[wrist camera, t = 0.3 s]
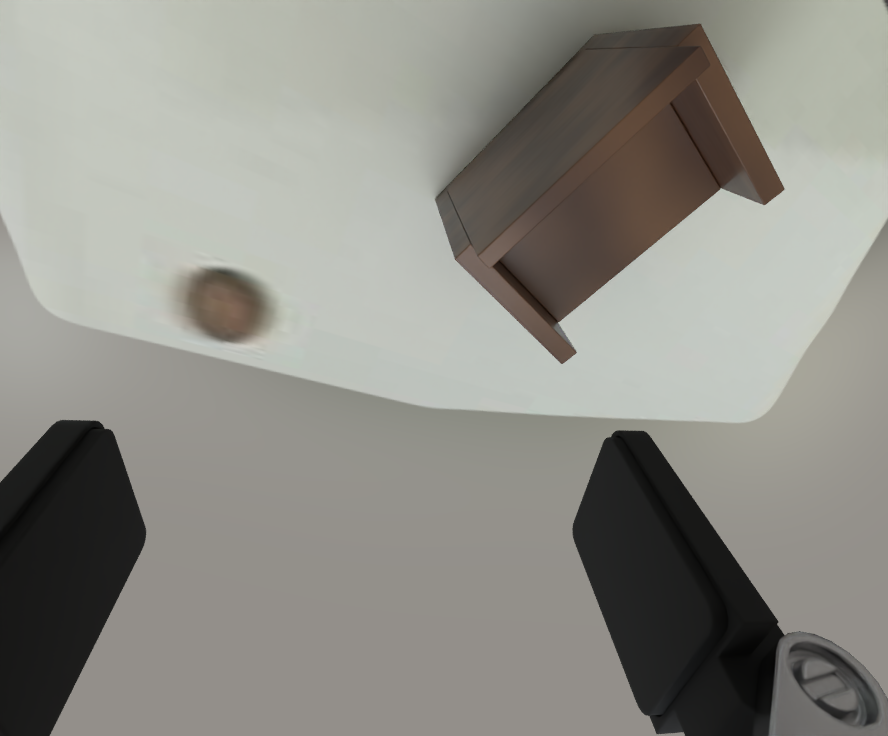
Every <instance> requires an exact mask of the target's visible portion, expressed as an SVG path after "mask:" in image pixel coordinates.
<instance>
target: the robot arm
mask: <svg viewBox="0 0 888 736" xmlns="http://www.w3.org/2000/svg"><path fill="white" fill-rule="evenodd" d="M145 538H146V528H145V525H144V522H143V519H142V516H141V513H140V510H139V507H138V504H137V501H136V498H135V495H134V492H133V489H132V486H131V483H130V480H129V477H128V474H127V471H126V468H125V465H124V462H123V459H122V456H121V454H120V451H119V448H118V445H117V442H116V439H115V436H114V434H113V432H112V431H111V430H109V429H104V427H103V425H102V424H101V423H100V422H99V421H80V420H79V421H77V420H61V421H58V422H56V423H55V424H53V425H52V426H51V427H50V428H49V429H48V431H47V432H46V433H45V434H44V435H43V436H42V437H41V438H40V439H39V440H38V442H37V443H36V444H35V445H34V446H33V447H32V448H31V449H30V450H29V452H28V453H27V454H26V455H25V456H24V457H23V458H22V459H21V460H20V462H19V463H18V464H17V465H16V466H15V467H14V468H13V469H12V470H11V471H10V472H9V474H8V475H7V476H6V477H5V478H4V479H3V480H2V481H1V482H0V736H50V734H51V731H52V730H53V728H54V726H55V724H56V721H57V720H58V718H59V715H60V714H61V712H62V709H63V708H64V706H65V704H66V702H67V699H68V697H69V695H70V693H71V691H72V689H73V687H74V685H75V683H76V681H77V679H78V677H79V675H80V673H81V671H82V669H83V667H84V665H85V663H86V661H87V659H88V657H89V655H90V653H91V651H92V649H93V647H94V645H95V643H96V641H97V639H98V637H99V635H100V633H101V631H102V629H103V627H104V625H105V623H106V621H107V619H108V617H109V615H110V613H111V611H112V609H113V607H114V605H115V603H116V601H117V599H118V597H119V595H120V593H121V591H122V589H123V587H124V585H125V583H126V581H127V579H128V577H129V575H130V573H131V571H132V569H133V567H134V564H135V563H136V561H137V559H138V557H139V555H140V553H141V551H142V548H143V546H144V543H145ZM573 538H574V542H575V544H576V547H577V549H578V552H579V555H580V557H581V560H582V562H583V565H584V568H585V570H586V573H587V575H588V578H589V581H590V583H591V586H592V588H593V591H594V594H595V596H596V599H597V601H598V604H599V607H600V609H601V611H602V614H603V617H604V619H605V622H606V625H607V627H608V630H609V632H610V635H611V638H612V640H613V643H614V645H615V648H616V651H617V653H618V656H619V658H620V661H621V664H622V666H623V669H624V671H625V674H626V676H627V679H628V682H629V684H630V687H631V689H632V692H633V694H634V697H635V700H636V702H637V704H638V707H639V708H640V710H641V711H642V713H644V714H645V715H648V716H650V718H651V721H652V723H653V726H654V728H655V731H656V733H657V734H665V733H677V732H684V734H685V736H888V699H887V697H886V696H885V693H884V692H883V690H882V688H881V687H880V685H879V683H878V682H877V681H876V679H875V678H874V677H873V676H872V675H871V674H870V672H869V671H868V670H867V669H866V668H865V667H864V666H863V665H862V664H861V663H860V662H859V661H858V660H857V659H855V658H854V657H853V656H852V655H851V654H850V653H848V652H847V651H846V650H844V649H842V648H841V647H839V646H837V645H836V644H835V643H833V642H832V641H830V640H827V639H825V638H823V637H820V636H818V635H815V634H811V633H806V632H800V631H799V632H792V633H788V634H786V635H784V634H783V633H782V631H781V630H780V628H779V627H778V625H777V623H778V620H777V619H776V618H775V616H774V615H773V613H772V612H771V610H770V609H769V607H768V606H767V604H766V603H765V602H764V600H763V599H762V597H761V596H760V594H759V593H758V592H757V590H756V589H755V587H754V586H753V584H752V583H751V581H750V580H749V578H748V577H747V576H746V574H745V573H744V571H743V570H742V568H741V567H740V566H739V564H738V563H737V561H736V560H735V558H734V557H733V555H732V554H731V552H730V551H729V550H728V548H727V547H726V545H725V544H724V542H723V541H722V539H721V538H720V537H719V535H718V534H717V532H716V531H715V530H714V528H713V526H712V525H711V524H710V522H709V521H708V519H707V518H706V517H705V515H704V514H703V512H702V511H701V509H700V508H699V506H698V505H697V503H696V502H695V500H694V499H693V498H692V496H691V495H690V493H689V492H688V490H687V489H686V488H685V486H684V485H683V483H682V482H681V480H680V479H679V477H678V476H677V474H676V473H675V472H674V470H673V469H672V467H671V466H670V464H669V463H668V462H667V460H666V459H665V457H664V456H663V454H662V453H661V451H660V450H659V448H658V447H657V446H656V444H655V443H654V441H653V440H652V438H651V437H650V436H649V435H648V434H647V433H646V432H644V431H615V432H614V433H613V434H612V436H611V437H609V438H606V439H605V440H604V442H603V445H602V448H601V450H600V453H599V456H598V458H597V461H596V464H595V467H594V469H593V472H592V474H591V477H590V480H589V483H588V485H587V488H586V491H585V493H584V496H583V499H582V501H581V504H580V507H579V510H578V512H577V515H576V518H575V520H574V523H573Z"/></svg>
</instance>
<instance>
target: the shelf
mask: <svg viewBox="0 0 888 736" xmlns="http://www.w3.org/2000/svg"><path fill="white" fill-rule="evenodd" d="M720 188H722V189H725V190H727V191H730V192H732V193H735V194H737V195H740V196H742V197H745V198H747V199H750V200H752V201H755V202H758V203H760V204H763V205H766V204H767V203H768V202H769V201H771V200H772V199H773V198H774V197H776V196H777V195H778V194H780V193H781V192H782V191H783V190H784V187H783V185H782V183H781V181H780V179H779V177H778V175H777V173H776V171H775V169H774V167H773V165H772V163H771V161H770V159H769V157H768V155H767V153H766V151H765V149H764V148H763V146H762V144H761V142H760V140H759V138H758V136H757V134H756V132H755V130H754V128H753V126H752V124H751V122H750V120H749V118H748V116H747V114H746V112H745V110H744V108H743V106H742V104H741V102H740V100H739V98H738V96H737V94H736V93H735V91H734V89H733V87H732V85H731V83H730V81H729V79H728V77H727V75H726V73H725V71H724V69H723V67H722V65H721V63H720V61H719V59H718V57H717V55H716V53H715V51H714V49H713V47H712V45H711V43H710V41H709V39H708V38H707V36H706V34H705V32H704V30H703V28H702V26H701V24H692V25H683V26H673V27H664V28H654V29H645V30H635V31H626V32H616V33H607V34H596V35H594V36H593V37H592V38H591V39H590V40H589V41H588V42H587V43H586V44H585V45H584V46H583V47H582V48H581V49H580V50H579V51H578V52H577V53H576V54H575V55H574V56H573V57H572V58H571V59H570V60H569V61H568V62H567V63H566V65H565V66H564V67H563V68H562V69H561V70H560V71H559V72H558V73H557V74H556V75H555V76H554V77H553V78H552V79H551V80H550V81H549V82H548V83H547V84H546V85H545V86H544V87H543V88H542V89H541V90H540V91H539V92H538V93H537V94H536V95H535V97H534V98H533V99H532V100H531V101H530V102H529V103H528V104H527V105H526V106H525V107H524V108H523V109H522V110H521V111H520V112H519V113H518V114H517V115H516V116H515V117H514V118H513V119H512V120H511V121H510V122H509V123H508V124H507V125H506V126H505V127H504V129H503V130H502V131H501V132H500V133H499V134H498V135H497V136H496V137H495V138H494V139H493V140H492V141H491V142H490V143H489V144H488V145H487V146H486V147H485V148H484V149H483V150H482V151H481V152H480V153H479V154H478V155H477V156H476V157H475V158H474V159H473V161H472V162H471V163H470V164H469V165H468V166H467V167H466V168H465V169H464V170H463V171H462V172H461V173H460V174H459V175H458V176H457V177H456V178H455V179H454V180H453V181H452V182H451V183H450V184H449V185H448V186H447V187H446V188H445V189H444V190H443V191H442V193H441V194H440V195H439V196H438V197H437V198H436V199H435V201H436V204H437V207H438V210H439V213H440V216H441V219H442V222H443V225H444V228H445V231H446V234H447V237H448V240H449V242H450V245H451V248H452V251H453V254H454V257H455V260H456V261H457V262H458V263H459V264H460V265H461V266H462V267H463V268H464V269H465V270H466V271H467V272H468V273H469V274H470V275H471V276H472V277H474V278H475V279H476V280H477V281H478V282H479V283H480V284H481V285H482V286H483V287H484V288H485V289H486V290H487V291H488V292H489V293H490V294H491V295H492V296H493V297H494V298H495V299H496V300H497V301H498V302H499V303H500V304H501V305H502V306H503V307H504V308H505V309H506V310H507V311H508V312H509V313H510V314H511V315H512V316H513V317H514V318H515V319H516V320H517V321H518V322H519V323H520V324H521V325H522V326H523V327H524V328H525V329H527V330H528V331H529V332H530V333H531V334H532V335H533V336H534V337H535V338H536V339H537V340H538V341H539V342H540V343H541V344H542V345H543V346H544V347H545V348H546V349H547V350H548V351H549V352H550V353H551V354H552V355H553V356H554V357H555V358H556V359H557V360H558V361H559V362H560V363H561V364H563V363H564V362H566V361H567V360H568V359H569V358H571V357H572V356H573V355H575V354H576V353H577V352H576V350H575V349H574V347H573V345H572V344H571V342H570V341H569V339H568V338H567V336H566V335H565V333H564V331H563V330H562V328H561V327H560V325H559V324H558V322H560V321H561V320H562V319H563V318H564V317H566V316H567V315H568V314H569V313H571V312H572V311H573V310H574V309H575V308H577V307H578V306H579V305H580V304H581V303H583V302H584V301H585V300H586V299H588V298H589V297H590V296H591V295H592V294H594V293H595V292H596V291H597V290H598V289H600V288H601V287H602V286H603V285H605V284H606V283H607V282H608V281H609V280H611V279H612V278H613V277H614V276H615V275H617V274H618V273H619V272H620V271H622V270H623V269H624V268H625V267H626V266H628V265H629V264H630V263H631V262H632V261H634V260H635V259H636V258H637V257H639V256H640V255H641V254H642V253H643V252H645V251H646V250H647V249H648V248H649V247H651V246H652V245H653V244H654V243H656V242H657V241H658V240H659V239H660V238H662V237H663V236H664V235H665V234H666V233H668V232H669V231H670V230H671V229H673V228H674V227H675V226H676V225H677V224H679V223H680V222H681V221H682V220H683V219H685V218H686V217H687V216H688V215H690V214H691V213H692V212H693V211H694V210H696V209H697V208H698V207H699V206H700V205H702V204H703V203H704V202H705V201H707V200H708V199H709V198H710V197H711V196H713V195H714V194H715V193H716V192H718V191H719V190H720Z"/></svg>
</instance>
